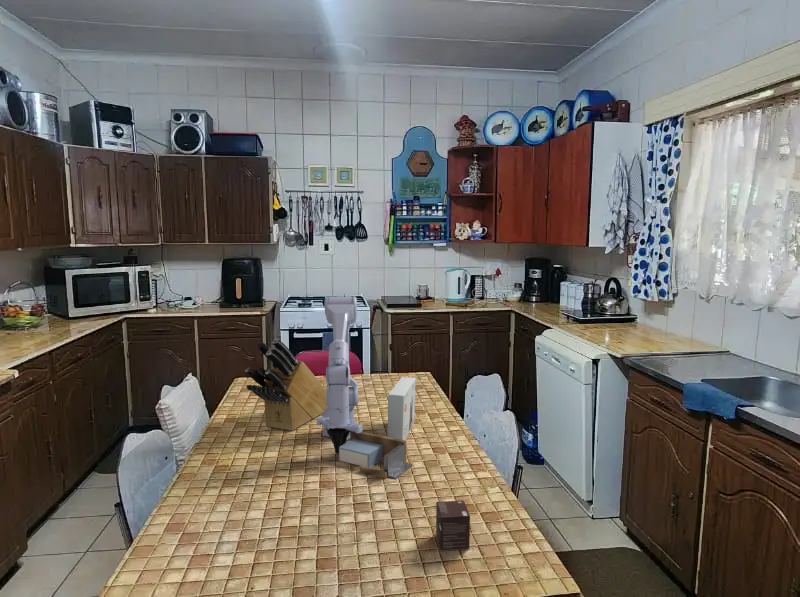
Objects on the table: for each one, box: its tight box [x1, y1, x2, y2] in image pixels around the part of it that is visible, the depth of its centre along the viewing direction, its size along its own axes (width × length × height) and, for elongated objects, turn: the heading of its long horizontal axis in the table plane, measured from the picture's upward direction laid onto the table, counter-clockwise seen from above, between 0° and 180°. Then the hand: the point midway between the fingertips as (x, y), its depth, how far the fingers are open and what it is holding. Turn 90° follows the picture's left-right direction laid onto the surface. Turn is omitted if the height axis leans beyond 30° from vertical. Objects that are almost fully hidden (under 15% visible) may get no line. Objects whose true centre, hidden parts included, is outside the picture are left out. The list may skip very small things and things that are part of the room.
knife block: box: [244, 338, 327, 431], centre depth 172 cm, size 11×35×31 cm, turn 155°
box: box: [435, 499, 471, 552], centre depth 104 cm, size 6×6×7 cm
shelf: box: [349, 431, 408, 479], centre depth 141 cm, size 18×12×6 cm, turn 61°
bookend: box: [383, 444, 413, 480], centre depth 136 cm, size 4×9×6 cm, turn 151°
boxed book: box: [338, 439, 384, 468], centre depth 143 cm, size 10×7×4 cm
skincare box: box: [386, 376, 416, 441], centre depth 162 cm, size 21×5×16 cm, turn 168°
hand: (339, 452), depth 145 cm, fingers closed
